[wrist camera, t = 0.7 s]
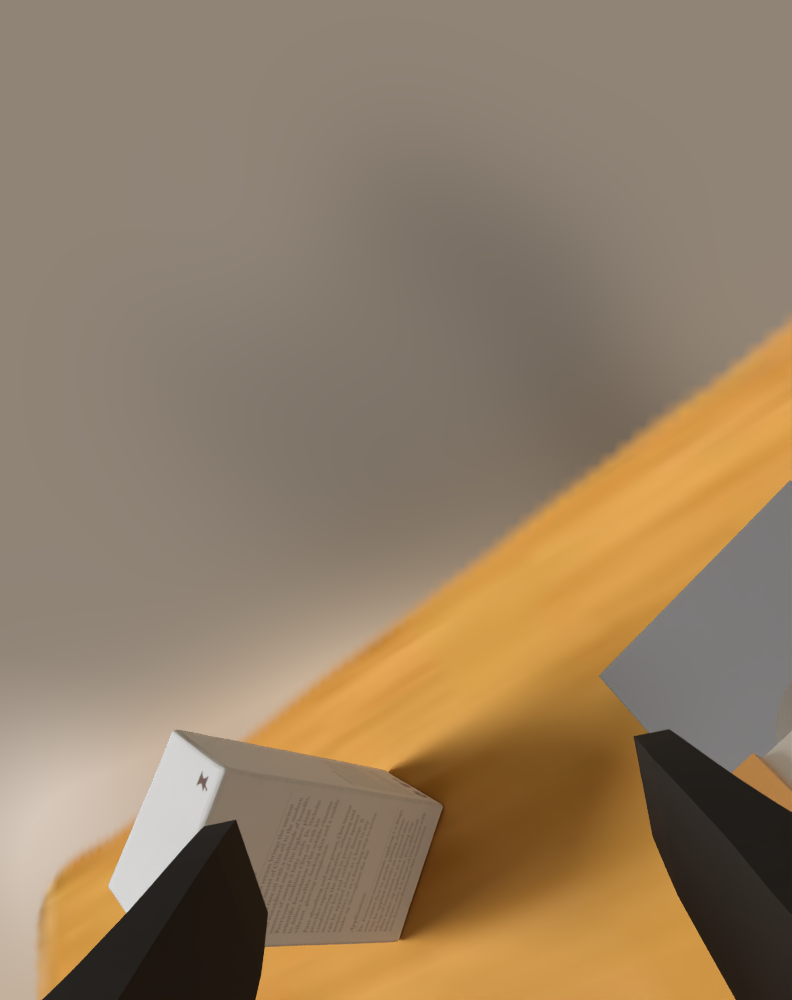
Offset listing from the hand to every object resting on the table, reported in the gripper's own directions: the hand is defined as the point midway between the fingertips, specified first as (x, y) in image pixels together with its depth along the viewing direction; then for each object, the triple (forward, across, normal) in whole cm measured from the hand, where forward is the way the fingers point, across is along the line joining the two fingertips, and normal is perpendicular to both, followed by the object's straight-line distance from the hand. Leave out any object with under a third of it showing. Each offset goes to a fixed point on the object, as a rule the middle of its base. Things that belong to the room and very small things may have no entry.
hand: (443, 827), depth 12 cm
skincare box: (+16, +5, +14) cm, 22 cm away
